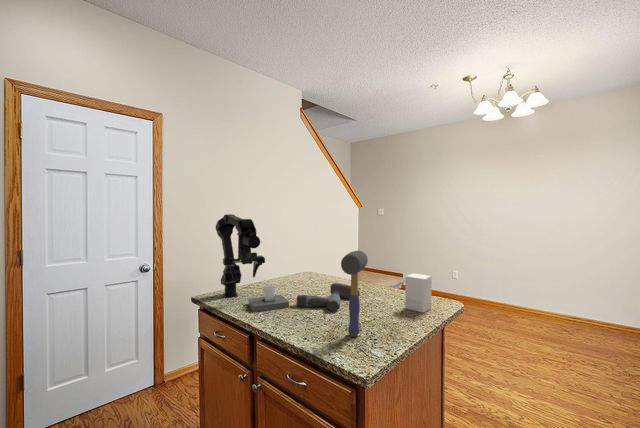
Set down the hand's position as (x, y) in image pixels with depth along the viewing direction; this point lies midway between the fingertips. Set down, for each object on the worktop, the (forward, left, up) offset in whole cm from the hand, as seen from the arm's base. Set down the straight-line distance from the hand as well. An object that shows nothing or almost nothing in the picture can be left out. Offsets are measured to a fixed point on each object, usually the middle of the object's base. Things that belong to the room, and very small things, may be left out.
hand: (243, 278), depth 137 cm
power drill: (+15, +33, -13) cm, 38 cm away
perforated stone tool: (+11, +49, -12) cm, 52 cm away
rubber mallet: (+51, +30, -12) cm, 60 cm away
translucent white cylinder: (+8, +10, -12) cm, 17 cm away
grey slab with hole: (+8, +10, -12) cm, 17 cm away
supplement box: (+38, +72, -12) cm, 82 cm away
